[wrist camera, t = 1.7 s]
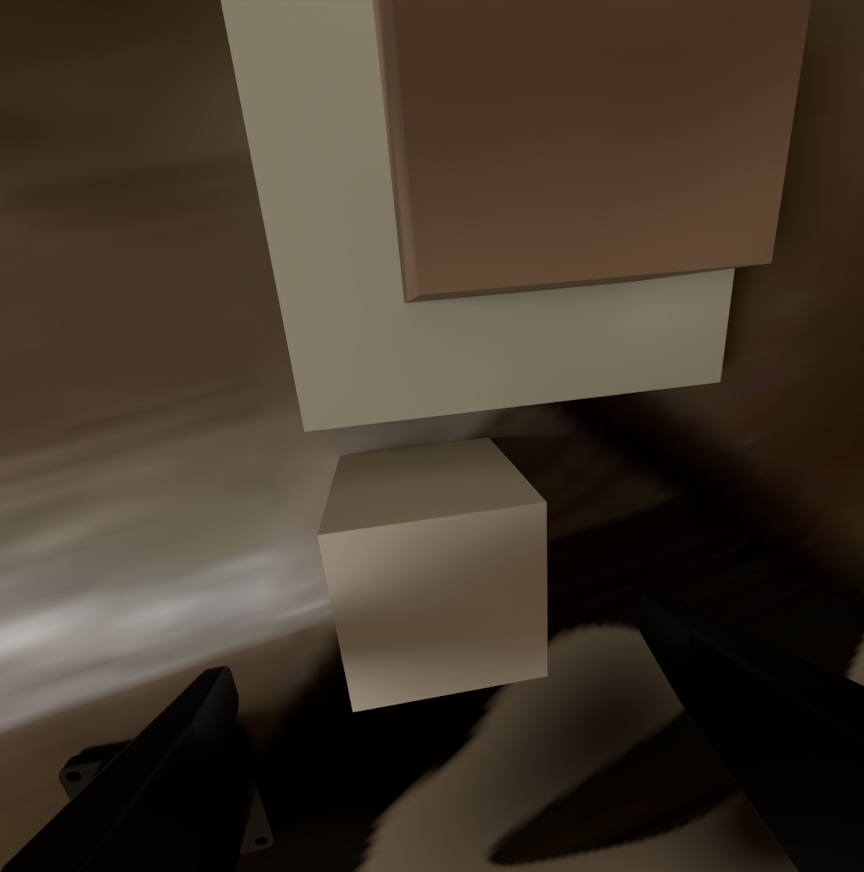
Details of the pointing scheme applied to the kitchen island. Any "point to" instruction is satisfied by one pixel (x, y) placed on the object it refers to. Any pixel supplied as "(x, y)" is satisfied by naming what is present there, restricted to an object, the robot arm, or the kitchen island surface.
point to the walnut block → (584, 138)
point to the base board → (380, 263)
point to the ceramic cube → (435, 572)
